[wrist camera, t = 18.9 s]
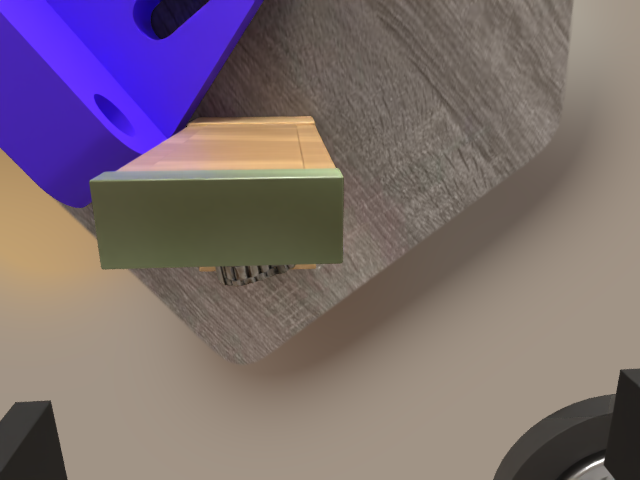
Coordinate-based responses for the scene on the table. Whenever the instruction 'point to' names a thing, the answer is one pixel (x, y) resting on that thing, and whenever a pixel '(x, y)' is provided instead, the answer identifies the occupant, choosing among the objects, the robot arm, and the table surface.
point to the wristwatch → (248, 273)
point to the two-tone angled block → (224, 199)
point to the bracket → (102, 83)
